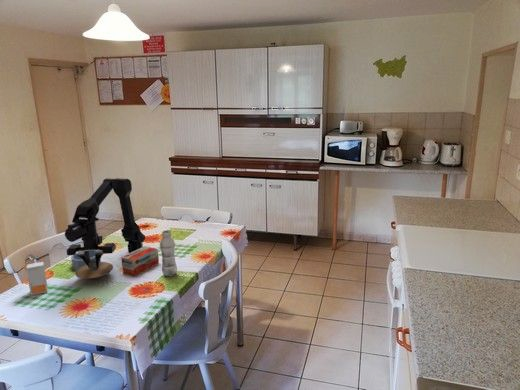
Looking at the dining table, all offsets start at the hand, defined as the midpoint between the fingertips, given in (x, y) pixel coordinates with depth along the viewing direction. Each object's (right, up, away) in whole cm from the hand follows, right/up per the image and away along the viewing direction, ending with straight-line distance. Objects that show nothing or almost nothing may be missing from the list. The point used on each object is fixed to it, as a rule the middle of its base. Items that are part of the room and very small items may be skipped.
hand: (94, 267), depth 165 cm
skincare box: (-18, -8, -10) cm, 22 cm away
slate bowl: (-10, -2, +15) cm, 18 cm away
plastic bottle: (+32, -4, +4) cm, 32 cm away
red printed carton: (+17, -3, +11) cm, 21 cm away
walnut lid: (0, -2, 0) cm, 2 cm away
